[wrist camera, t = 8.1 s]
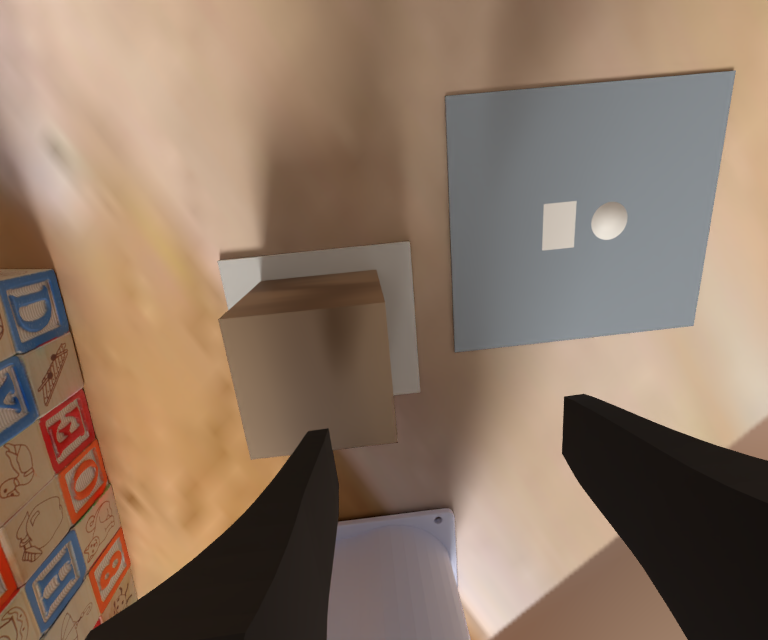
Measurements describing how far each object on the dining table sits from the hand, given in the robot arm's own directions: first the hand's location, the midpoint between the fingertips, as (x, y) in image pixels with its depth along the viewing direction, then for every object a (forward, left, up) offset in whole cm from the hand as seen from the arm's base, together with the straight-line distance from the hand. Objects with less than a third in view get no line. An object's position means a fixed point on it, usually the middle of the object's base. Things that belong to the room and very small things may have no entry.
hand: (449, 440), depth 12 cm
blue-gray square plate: (+9, +5, -9) cm, 13 cm away
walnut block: (-4, +1, -9) cm, 10 cm away
